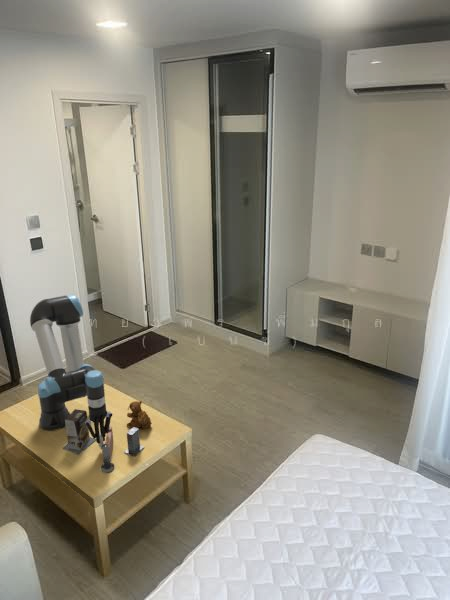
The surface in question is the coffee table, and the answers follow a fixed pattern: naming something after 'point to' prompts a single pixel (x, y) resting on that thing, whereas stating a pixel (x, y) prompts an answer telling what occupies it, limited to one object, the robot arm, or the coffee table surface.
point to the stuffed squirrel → (138, 416)
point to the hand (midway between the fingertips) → (101, 447)
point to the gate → (110, 440)
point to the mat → (82, 447)
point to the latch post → (133, 442)
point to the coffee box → (77, 429)
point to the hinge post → (106, 460)
